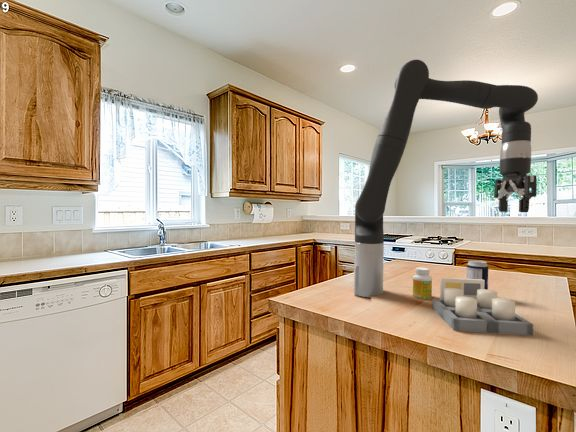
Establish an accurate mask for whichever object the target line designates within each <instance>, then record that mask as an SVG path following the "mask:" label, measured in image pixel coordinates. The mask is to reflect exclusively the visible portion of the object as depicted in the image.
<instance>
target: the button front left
mask: <svg viewBox="0 0 576 432" xmlns="http://www.w3.org/2000/svg"><path fill="white" fill-rule="evenodd" d="M455 315H456V316H458V317H461V318H471V319H476V318H477V299H475V298H471V297H466V296H457V297H456V302H455Z"/></svg>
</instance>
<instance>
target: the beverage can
mask: <svg viewBox="0 0 576 432" xmlns="http://www.w3.org/2000/svg"><path fill="white" fill-rule="evenodd" d="M466 279H481V280H485V284H484V289H487V290H489V265H488V263H487V261H483V260H476V259H475V260H473V259H472V260H471V259H470V260H468V262H467V264H466Z"/></svg>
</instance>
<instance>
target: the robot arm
mask: <svg viewBox="0 0 576 432" xmlns="http://www.w3.org/2000/svg"><path fill="white" fill-rule="evenodd" d="M419 100H430V101H441V102H446V103H447V102H448V103H454V104H459V105H463V106H469V107H474V108H477V109H484V110H487V109H490V110H491V109H492V108H498V116H499V121H500V127H501V130H502V131H501V147H500V152H499V153H500V156H499V175H502V176H503V177H502V178H501V179H500V178H498V179H495V181H494V189H493V190H494V191H493V198H495V199H497V200H498V212H500V213H501V212H502V213H503V212H504V213H506V212H508V208H509V207H508V206H509V205H508V204H509V201H508V199H509V197H510V195H512V194H514V193H515V194H517V195H518V198H519V203H518V212H519V213H528V212H529V209H530V199H532V198H533V197H534V198H535V197H537V195H538V194H537V191H538V190H537V188H538V187H537V182H538V181H537V175H531V174H530V173H531V167H532V139H531V138H532V124H531V123H530V122H529V121H526V119H525V117H526V116H525V113H526V112H528V111H530V110H531V109H533V108H534V107H535V105H537V102H538V100H539V96H538V93H537V91H536V90H535V89H533V88H532V87H529V86H525V85H521V84H520V85H518V84H494V83H493V84H492V83H487V82H482V81H477V80H469V79H468V80H439V79H433V78H430V71H429V68H428V65H427V64H426V63H425V61H423V60H421V59H412V60H409V61H407V62H406V63H405V64H404V65H402V67H401V68H400V69H398V73H397V75H396V79H395V81H394V93H393V99H392V101H391V104H390V107H389V109H388V111H387V113H386V115H385V117H384V119H383V122H382V124H381V126H380V128H379V132H378V134H377V137H376V140H375V143H374V146H373V149H372V154H371V157H370V164H369V168H368V169H369V170H368V174H367V178H366V181H365V183H364V186H363V188H362V190H361V193H360V195H359V197H358V199H357V200H356V203H355V206H354V263H353V292H354V293H353V294H354V296H358V297H362V298H371V296H380V295H382V294H384V257H385V256H384V250H385V249H384V248H385V246H384V245H385V244H384V239H385V234H384V213H385V210H386V205H387V199H388V195H389V191H390V188H391V187H390V186H391V183H392V180H393V178H394V177H395V174H396V172H397V169H398V167H399V165H400V162H401V159H402V158H403V155H404V152H405V149H406V146H407V143H408V139H409V136H410V132H411V128H412V125H413V120H414V115H415V112H416V109H417V106H418V103H419V102H420V101H419ZM528 174H530V175H528ZM530 189H531V191H530Z"/></svg>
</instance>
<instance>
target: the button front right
mask: <svg viewBox="0 0 576 432" xmlns="http://www.w3.org/2000/svg"><path fill="white" fill-rule="evenodd" d="M515 314H516V302H515V301H514V300H512V299H508V298H505V297H504V298H503V297H497V298H493V299H492V317H493V318H495V319H498V320H504V321H515Z"/></svg>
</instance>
